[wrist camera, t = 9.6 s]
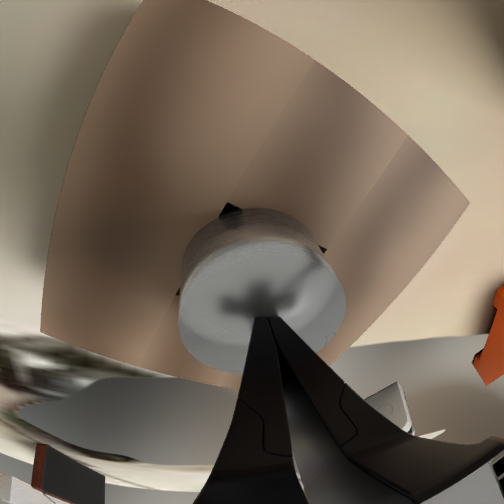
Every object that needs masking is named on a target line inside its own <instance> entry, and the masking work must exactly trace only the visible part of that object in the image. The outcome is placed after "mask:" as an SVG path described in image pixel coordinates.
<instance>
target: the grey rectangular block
mask: <svg viewBox="0 0 504 504" xmlns="http://www.w3.org/2000/svg"><path fill="white" fill-rule="evenodd" d="M45 495H46V496H48V497H49V498H50V499H51V500H52V501H54V502H55V503H56V504H69V503H67V502H64V501H62V500H59V499H57V498H54V497H52V496H49V495H47V494H45ZM46 496H44V495H43V493H42V492H40V491H38V490H36V489H34V488H32V486H31V485H29V484H26V483H24V482H22V481H20V480H19V479H17V478H15V477H13V476H9V475H8V476H7V475H3V474H0V499H1V500H3V501H5V502H8V503H10V504H54V503H53V502H51V501H50V500H49V499H48V498H47V497H46Z"/></svg>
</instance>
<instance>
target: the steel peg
mask: <svg viewBox="0 0 504 504" xmlns="http://www.w3.org/2000/svg"><path fill="white" fill-rule="evenodd" d="M345 309H346V298H345V293H344V290H343V287H342V285H341V283H340V282H339V280H338V278H337V276H336V275H335V273H334V271H333V270H332V268H331V266H330V264H329V263H328V261H327V259H326V258H325V256H324V254H323V253H322V251H321V249H320V248H319V246H318V244H317V243H316V241H315V239H314V238H313V236H312V235H311V233H310V231H309V230H308V229H307V228H306V227H305V226H304V225H303V224H302V223H301V222H300V221H298V220H297V219H295V218H294V217H292V216H290V215H288V214H286V213H283V212H280V211H277V210H273V209H266V208H248V209H242V208H239V207H237V206H235V205H233V204H231V203H228V202H227V203H226V205H225V206H224V208H223V210H222V211H221V213H220V215H219V217H218V218H216V219H214V220H212V221H211V222H210V223H208V224H207V225H205V226H204V227H203V228H202V229H201V230H200V231H198V232H197V234H196V235H195V236H194V237H193V238H192V240H191V241H190V243H189V244H188V246H187V248H186V250H185V253H184V255H183V259H182V264H181V279H180V300H179V333H180V337H181V340H182V342H183V344H184V346H185V347H186V349H187V350H188V351H189V353H190V354H191V355H192V356H194V357H195V358H196V359H197V360H199V361H200V362H201V363H203V364H205V365H207V366H209V367H211V368H214V369H216V370H219V371H223V372H227V373H233V374H243V370H244V365H245V360H246V356H247V351H248V346H249V341H250V337H251V332H252V327H253V322H254V319H255V318H260V317H266V318H268V317H274V316H279V317H281V318H282V319H283V320H284V321H285V322H286V323H287V324H288V325H289V326H290V327H291V328H292V329H293V330H294V331H295V332H296V333H297V334H298V335H299V336H300V337H301V339H302V340H303V341H304V342H305V343H306V344H307V345H308V346H309V347H310V348H311V349H312V350H313V351H314V352H315V353H316V352H318V351H319V350H320V349H322V348H323V347H324V346H325V345H326V344H327V343H328V342H329V341H330V340H331V338H332V337H333V336H334V335H335V333H336V332H337V330H338V329H339V327H340V325H341V323H342V320H343V318H344V314H345Z"/></svg>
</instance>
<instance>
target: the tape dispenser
mask: <svg viewBox="0 0 504 504" xmlns="http://www.w3.org/2000/svg"><path fill="white" fill-rule="evenodd" d="M493 305H494V306H495V307H496V308H497V312H496V316H495V319H494V322H493V325H492V328H491V330H490V333H489V336H488V339H487V342H486V344H485V347H484V348H483V349H482V350H480V351H479V352H478V353H476V354H475V355H474V358H473V360H472V364H473V366H474V367H475V369H476V370H477V372H478V373H479V375H480V376H481V378H482V380H483V381H484V383H485V384H486V385H488V384H490V383H491V382H493V381H494V380H495V379H497V378H499V377H500V376H502V375H503V374H504V285H503V286H501V287H500V288H499V289H497V292H496V296H495V299H494V303H493Z"/></svg>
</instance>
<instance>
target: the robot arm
mask: <svg viewBox="0 0 504 504" xmlns="http://www.w3.org/2000/svg"><path fill="white" fill-rule="evenodd" d="M292 451H293V454H292ZM503 451H504V438H502V437H499V436H495V435H491V436H489V437H488V438H486V439H485V440H483V441H482V442H480V443H477V444H471V445H465V444H456V443H450V442H443V441H437V440H432V439H426V438H421V437H417V436H414V435H411V434H409V433H407V432H406V431H404V430H402V429H401V428H399V427H398V426H397V425H395V424H394V423H393V422H391V421H390V420H389V419H387V418H386V417H385V416H383V415H382V414H381V413H380V412H378V411H377V410H376V409H374V408H373V407H372V406H371V405H369V404H368V403H367V402H366V401H365V400H363V399H362V398H361V397H360V396H359V395H358V394H357V393H356V392H355V391H354V390H353V389H351V387H350V386H348V385H347V384H346V383H345V384H344V381H343V380H342V379H341V378H340V377H339V376H338V375H337V374H336V373H335V372H334V371H333V370H332V369H331V368H330V367H329V366H328V365H327V364H326V363H325V362H324V361H323V360H322V359H321V358H320V357H319V356H318V355H317V354H316V353H315V352H314V351H313V350H312V349H311V348H310V347H309V346H308V345H307V344H306V343H305V342H304V341H303V340H302V339H301V337H300V336H299V335H298V334H297V333H296V332H295V331H294V330H293V329H292V328H291V327H290V326H289V325H288V324H287V323H286V322H285V321H284V320H283V319H282V318H281V317H279V316H274V317H268V318H266V317H260V318H255V319H254V322H253V327H252V332H251V337H250V341H249V346H248V351H247V356H246V360H245V365H244V370H243V375H242V379H241V384H240V389H239V393H238V399H237V402H236V407H235V411H234V414H233V419H232V422H231V425H230V428H229V430H228V433H227V436H226V439H225V441H224V443H223V446H222V448H221V450H220V453H219V455H218V458H217V460H216V462H215V465H214V467H213V469H212V472H211V474H210V476H209V478H208V480H207V482H206V483H205V485H204V487H203V488H202V490H201V492H200V493H199V495H198V496H197V498H196V499H195V501H194V502H193V504H504V456H503V457H501V458H500V459H499V460H497V461H496V462H494V463H493V464H491V462H490V461H491V460H492V459H493V458H495V457H496V456H497V455H499V454H500V453H501V452H503ZM293 455H294V458H295V461H296V464H297V467H298V471H299V474H300V477H301V480H302V484H303V486H304V490H305V493H306V496H307V498H306V496H305V494H304V491H303V489H302V487H301V484H300V482H299V480H298V477H297V475H296V471H295V467H294V461H293V458H292V457H293ZM307 500H308V501H307Z"/></svg>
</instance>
